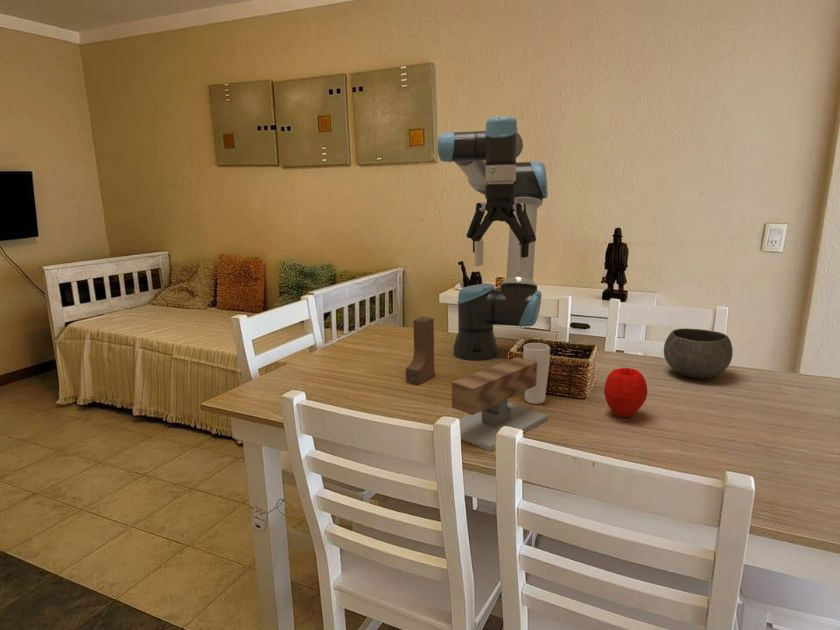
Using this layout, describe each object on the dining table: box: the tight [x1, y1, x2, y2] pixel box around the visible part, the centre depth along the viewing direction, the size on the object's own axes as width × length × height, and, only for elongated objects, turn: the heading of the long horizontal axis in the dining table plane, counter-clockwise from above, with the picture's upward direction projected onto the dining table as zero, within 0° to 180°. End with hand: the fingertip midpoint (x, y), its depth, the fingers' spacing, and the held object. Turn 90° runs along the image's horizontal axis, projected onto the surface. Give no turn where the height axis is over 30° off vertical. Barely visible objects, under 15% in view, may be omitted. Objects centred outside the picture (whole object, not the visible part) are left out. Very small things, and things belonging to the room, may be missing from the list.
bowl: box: [663, 328, 734, 380], centre depth 158 cm, size 18×18×13 cm
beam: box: [451, 356, 537, 415], centre depth 127 cm, size 24×6×6 cm, turn 134°
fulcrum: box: [459, 399, 549, 452], centre depth 128 cm, size 22×14×8 cm, turn 134°
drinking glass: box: [522, 342, 551, 405], centre depth 142 cm, size 7×7×15 cm
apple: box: [603, 367, 648, 418], centre depth 132 cm, size 10×10×12 cm
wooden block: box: [405, 316, 436, 385], centre depth 159 cm, size 9×4×18 cm, turn 146°
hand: (499, 268), depth 140 cm, fingers open, 13 cm apart
